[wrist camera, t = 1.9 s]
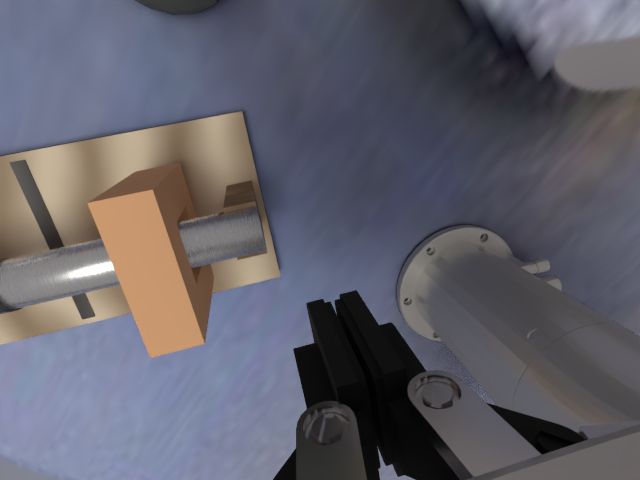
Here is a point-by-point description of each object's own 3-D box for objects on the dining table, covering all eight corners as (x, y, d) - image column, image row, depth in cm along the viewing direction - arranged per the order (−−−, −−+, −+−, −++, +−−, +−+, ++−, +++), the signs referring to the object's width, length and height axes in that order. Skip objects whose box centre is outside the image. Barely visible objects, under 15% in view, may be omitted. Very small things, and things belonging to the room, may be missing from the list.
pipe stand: (241, 110, 30) (242, 113, 22) (279, 269, 35) (290, 317, 27) (-95, 173, 27) (-231, 202, 19) (-2, 337, 32) (-79, 412, 24)
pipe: (254, 198, 26) (256, 210, 23) (265, 242, 27) (268, 259, 24) (-128, 280, 23) (-183, 307, 20) (-98, 325, 24) (-145, 357, 21)
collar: (179, 162, 27) (152, 189, 18) (214, 276, 30) (204, 343, 22) (135, 171, 26) (87, 203, 18) (175, 286, 30) (150, 357, 21)
